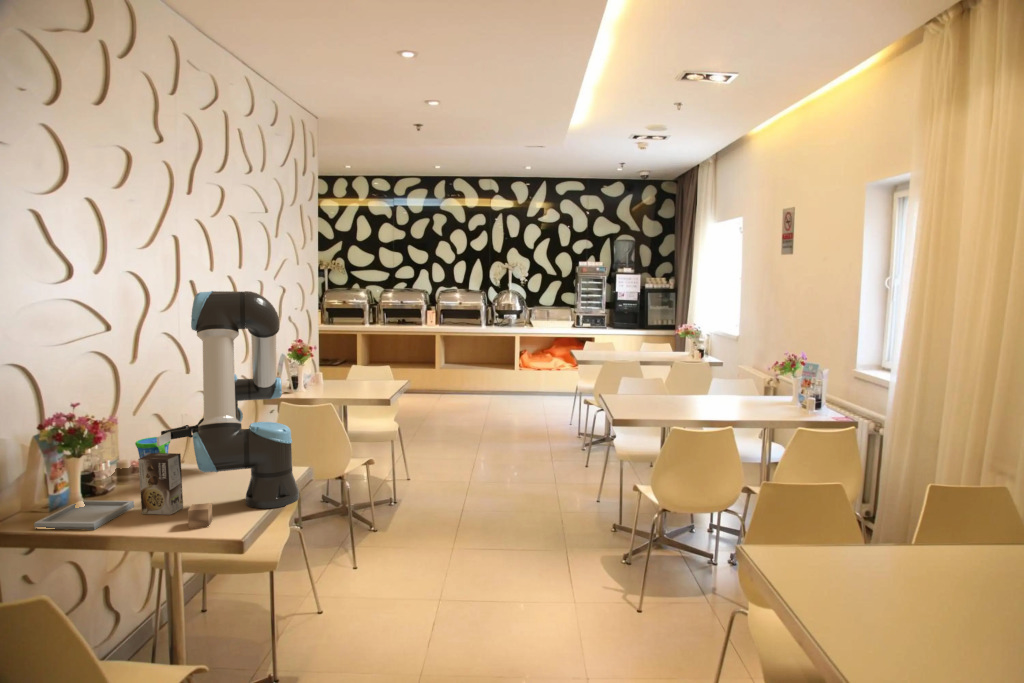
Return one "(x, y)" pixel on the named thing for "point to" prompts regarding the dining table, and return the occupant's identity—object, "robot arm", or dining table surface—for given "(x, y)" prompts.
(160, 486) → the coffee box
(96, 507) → the tray
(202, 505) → the walnut block
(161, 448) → the snack cup
